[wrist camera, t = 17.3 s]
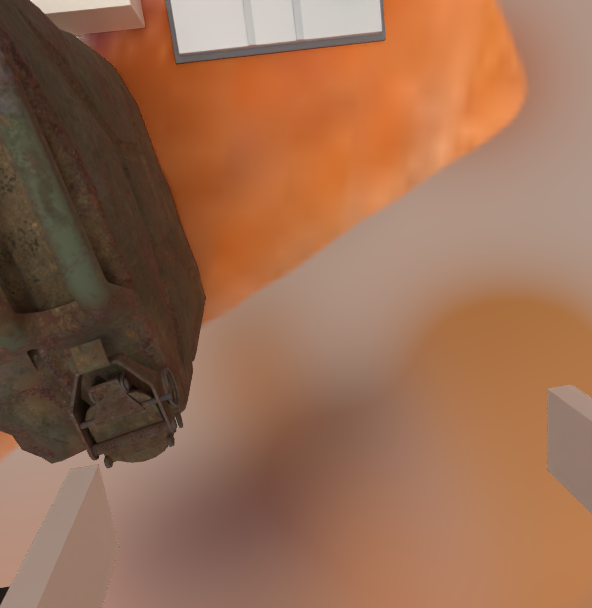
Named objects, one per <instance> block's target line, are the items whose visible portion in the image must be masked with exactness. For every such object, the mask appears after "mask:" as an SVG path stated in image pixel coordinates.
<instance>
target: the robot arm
mask: <svg viewBox="0 0 592 608" xmlns="http://www.w3.org/2000/svg"><path fill="white" fill-rule="evenodd" d="M547 405H548V406H547V470H548V471H549V472H550V473H551V474H552V475H553V476H554V477H555V478H556V479H557V480H558V481H559V482H560V483H561V484H562V485H563V486H564V487H565V488H566V489H567V490H568V491H569V492H570V493H571V494H572V495H573V496H574V497H575V498H576V499H577V500H578V501H579V502H580V503H581V504H582V505H583V506H584V507H585V508H586V509H587V510H588V511H589V512H590V513H591V514H592V398H591V397H590V396H588V395H587V394H585V393H584V392H582V391H581V390H579V389H578V388H576V387H575V386H573V385H567V386H561V387H555V388H550V389H548V391H547ZM118 550H119V544H118V540H117V536H116V532H115V528H114V524H113V520H112V516H111V512H110V508H109V504H108V500H107V496H106V492H105V488H104V484H103V480H102V476H101V472H100V468H99V464H98V465H92V466H86V467H80V468H74V469H70V471H69V473H68V475H67V477H66V479H65V481H64V483H63V485H62V487H61V489H60V490H59V492H58V495H57V496H56V498H55V500H54V502H53V504H52V506H51V508H50V510H49V512H48V514H47V516H46V518H45V520H44V522H43V523H42V526H41V527H40V529H39V531H38V533H37V535H36V537H35V539H34V541H33V543H32V545H31V547H30V549H29V551H28V553H27V555H26V556H25V558H24V560H23V562H22V564H21V566H20V568H19V570H18V572H17V574H16V576H15V578H14V580H13V582H12V584H11V586H10V587H4V588H0V608H102V606H103V603H104V599H105V595H106V592H107V589H108V585H109V582H110V578H111V574H112V571H113V568H114V564H115V561H116V557H117V554H118Z"/></svg>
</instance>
